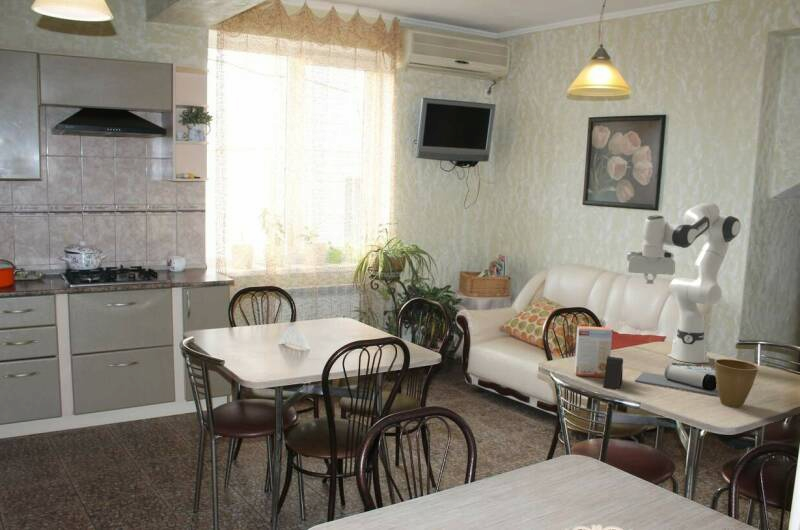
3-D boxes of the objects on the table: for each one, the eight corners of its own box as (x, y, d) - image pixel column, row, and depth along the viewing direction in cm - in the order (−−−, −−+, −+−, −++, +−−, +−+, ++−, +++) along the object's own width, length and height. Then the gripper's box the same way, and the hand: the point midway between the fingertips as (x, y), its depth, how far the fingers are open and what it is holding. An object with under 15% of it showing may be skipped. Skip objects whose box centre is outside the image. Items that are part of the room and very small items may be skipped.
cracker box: (606, 374, 305) (610, 327, 302) (609, 378, 299) (613, 330, 296) (573, 372, 306) (577, 325, 304) (575, 375, 300) (579, 327, 298)
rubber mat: (643, 373, 309) (643, 371, 309) (722, 387, 293) (722, 385, 293) (635, 381, 295) (635, 379, 295) (717, 396, 279) (717, 394, 279)
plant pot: (717, 409, 263) (721, 367, 261) (706, 397, 277) (710, 357, 276) (759, 412, 261) (764, 370, 259) (745, 400, 275) (750, 360, 274)
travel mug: (666, 382, 299) (712, 394, 284) (662, 372, 296) (708, 383, 281) (673, 371, 302) (719, 383, 287) (669, 361, 299) (715, 372, 283)
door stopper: (607, 382, 292) (609, 354, 291) (622, 384, 290) (624, 356, 288) (602, 387, 285) (605, 358, 283) (618, 390, 282) (620, 361, 280)
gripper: (629, 252, 306) (626, 283, 308) (677, 254, 305) (674, 286, 306) (626, 250, 313) (623, 281, 314) (673, 253, 311) (670, 284, 313)
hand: (649, 283), depth 310 cm, fingers closed
